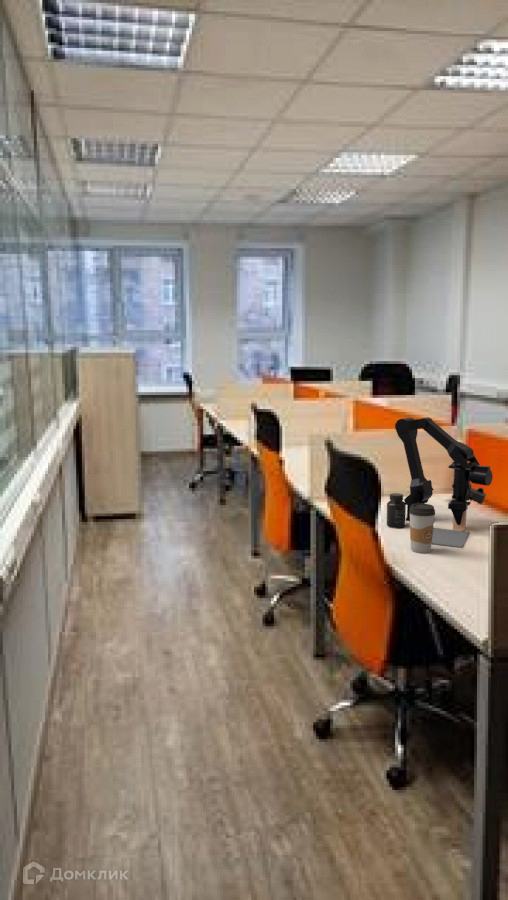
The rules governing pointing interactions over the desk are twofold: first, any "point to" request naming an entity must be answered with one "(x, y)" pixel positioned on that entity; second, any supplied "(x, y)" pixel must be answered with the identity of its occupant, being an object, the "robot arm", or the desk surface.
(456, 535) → the mat
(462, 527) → the block
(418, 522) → the coffee cup
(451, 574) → the desk surface
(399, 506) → the supplement bottle
